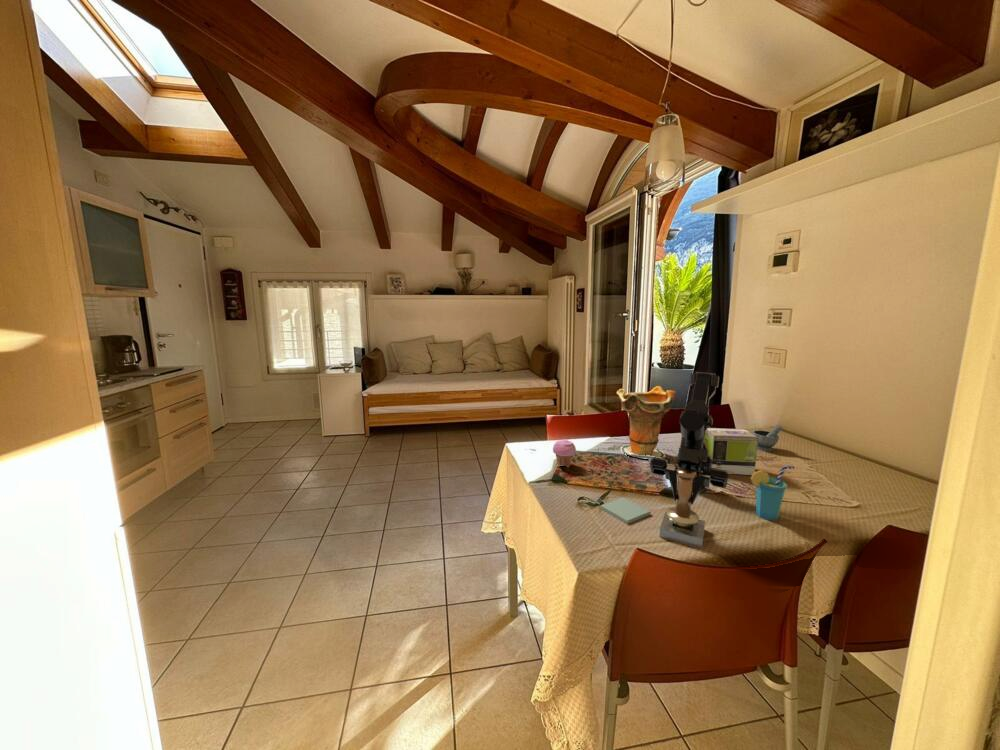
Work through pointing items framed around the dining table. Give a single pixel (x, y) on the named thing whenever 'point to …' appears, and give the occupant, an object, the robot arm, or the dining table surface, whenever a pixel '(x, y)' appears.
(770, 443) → the mortar and pestle
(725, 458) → the tea box
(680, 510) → the metallic flared cylinder
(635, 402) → the decorative vase
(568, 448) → the cupcake
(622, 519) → the pad
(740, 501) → the dining table surface
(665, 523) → the bore block
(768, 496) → the cup
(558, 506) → the dining table surface
